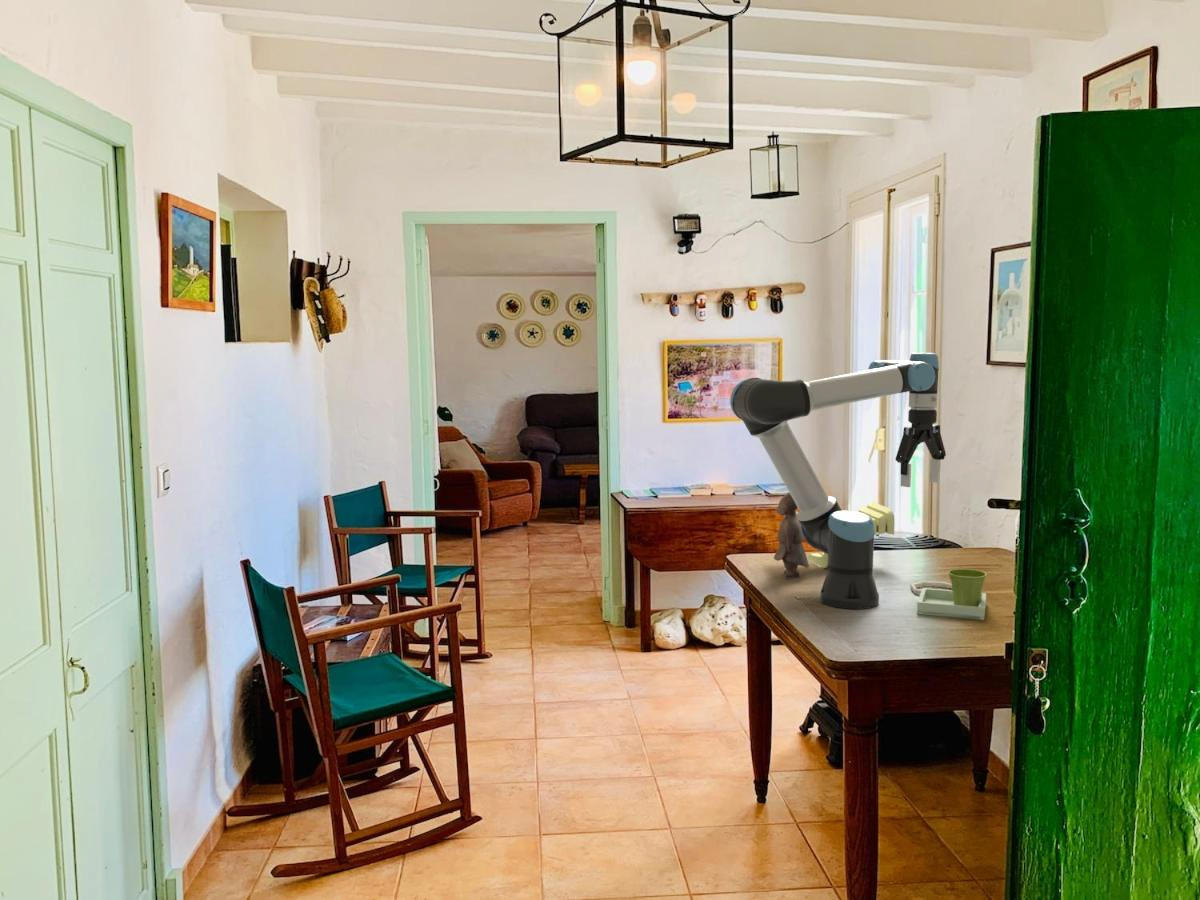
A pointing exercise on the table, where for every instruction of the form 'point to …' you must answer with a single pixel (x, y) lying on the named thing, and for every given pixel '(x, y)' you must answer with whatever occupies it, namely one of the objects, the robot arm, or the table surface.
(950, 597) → the tray
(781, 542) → the clay figurine
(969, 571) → the plant pot
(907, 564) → the table surface
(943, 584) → the collar ring
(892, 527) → the slatted curved stool
